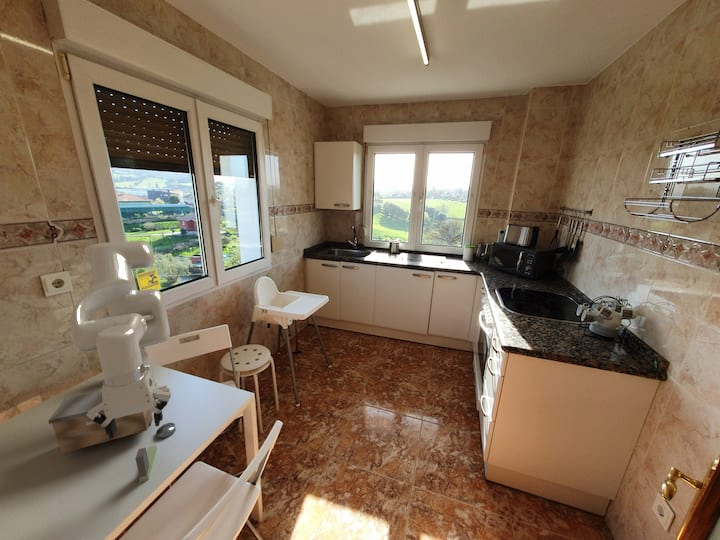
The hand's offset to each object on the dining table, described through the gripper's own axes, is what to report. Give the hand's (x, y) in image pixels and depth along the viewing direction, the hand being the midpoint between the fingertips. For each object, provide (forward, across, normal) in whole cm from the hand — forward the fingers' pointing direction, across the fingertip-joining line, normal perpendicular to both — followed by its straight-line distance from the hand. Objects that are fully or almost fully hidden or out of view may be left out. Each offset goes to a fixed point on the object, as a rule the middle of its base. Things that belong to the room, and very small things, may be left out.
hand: (136, 428), depth 74 cm
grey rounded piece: (+16, -3, -13) cm, 21 cm away
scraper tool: (+15, 0, -2) cm, 15 cm away
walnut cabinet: (+16, +12, -17) cm, 26 cm away
